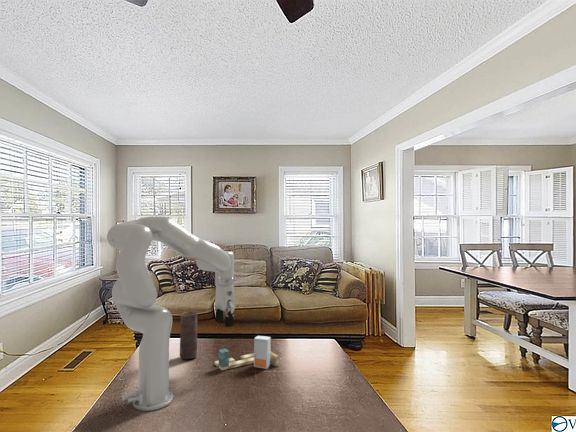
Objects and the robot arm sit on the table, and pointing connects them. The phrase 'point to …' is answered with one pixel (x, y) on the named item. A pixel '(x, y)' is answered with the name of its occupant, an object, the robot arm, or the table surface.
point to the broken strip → (234, 360)
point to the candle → (188, 335)
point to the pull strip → (225, 363)
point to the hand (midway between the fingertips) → (224, 323)
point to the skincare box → (262, 351)
